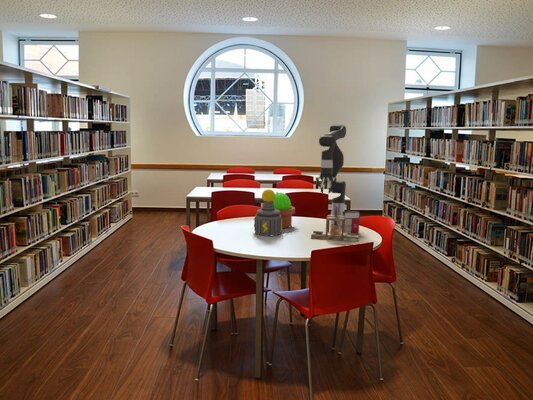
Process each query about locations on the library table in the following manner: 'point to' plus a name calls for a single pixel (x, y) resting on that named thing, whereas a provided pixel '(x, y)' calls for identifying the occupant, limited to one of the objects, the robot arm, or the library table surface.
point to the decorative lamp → (268, 216)
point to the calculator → (351, 221)
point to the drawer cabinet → (348, 238)
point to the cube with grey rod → (335, 227)
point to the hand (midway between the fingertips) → (325, 193)
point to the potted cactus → (284, 209)
